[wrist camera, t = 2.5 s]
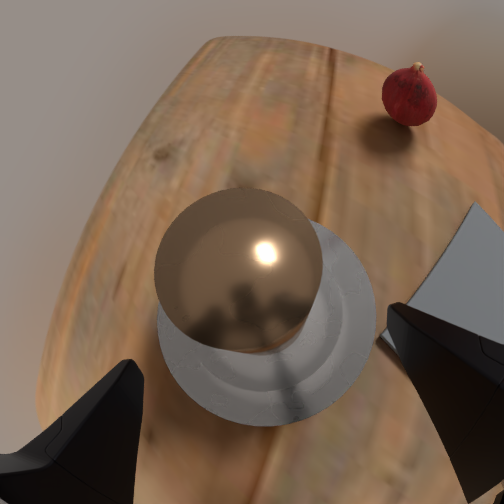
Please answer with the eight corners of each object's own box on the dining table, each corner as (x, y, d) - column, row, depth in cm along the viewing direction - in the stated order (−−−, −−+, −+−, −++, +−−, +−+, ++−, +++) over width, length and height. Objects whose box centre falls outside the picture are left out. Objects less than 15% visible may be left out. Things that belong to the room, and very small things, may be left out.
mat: (484, 450, 12) (488, 451, 11) (379, 335, 18) (381, 334, 17) (555, 311, 14) (558, 310, 14) (472, 204, 20) (475, 201, 20)
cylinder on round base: (254, 460, 12) (214, 551, 4) (131, 306, 17) (26, 254, 8) (409, 316, 14) (508, 263, 6) (271, 187, 18) (255, 71, 10)
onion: (426, 149, 23) (452, 90, 16) (374, 132, 24) (390, 68, 17) (423, 115, 25) (442, 62, 17) (377, 100, 26) (388, 43, 19)
